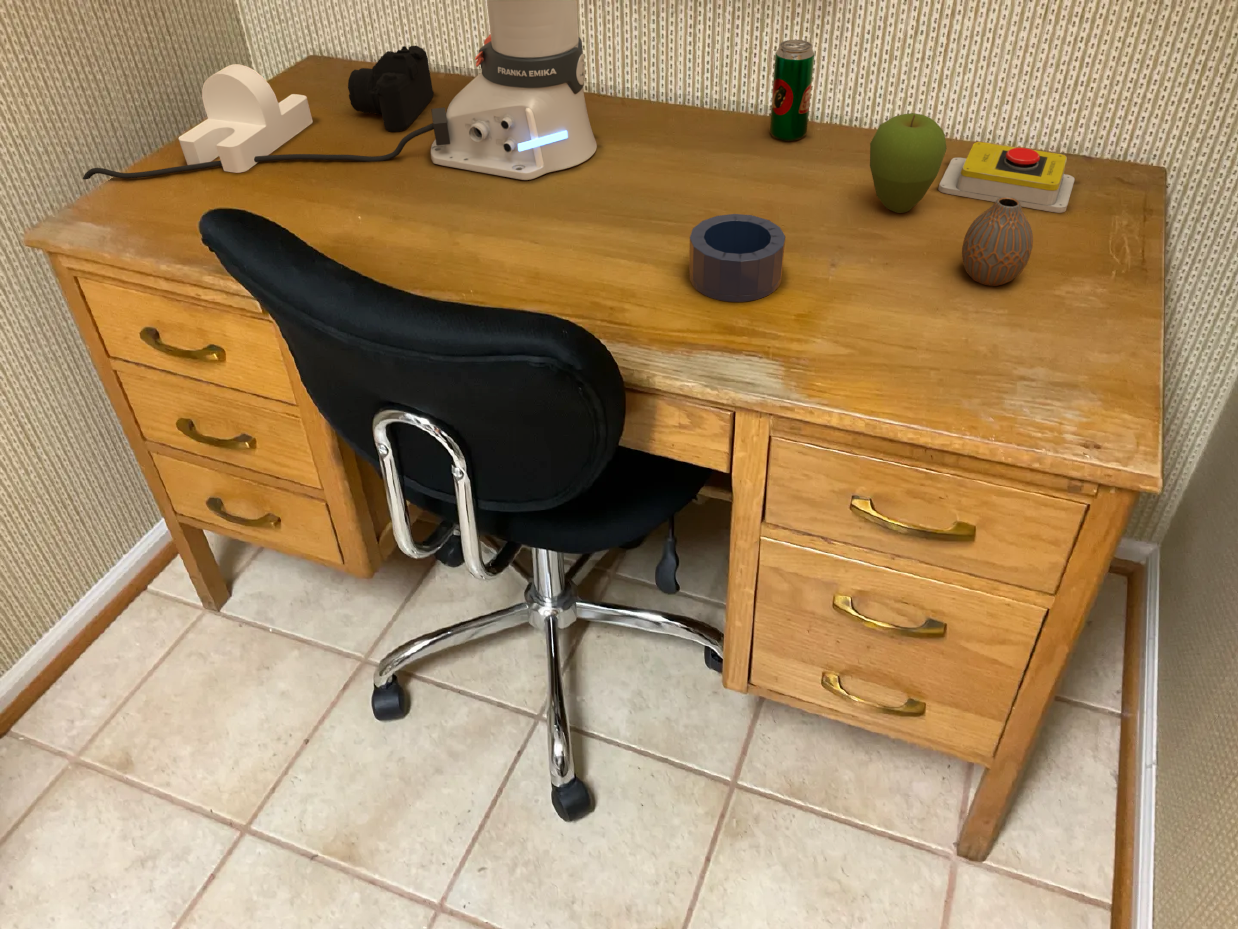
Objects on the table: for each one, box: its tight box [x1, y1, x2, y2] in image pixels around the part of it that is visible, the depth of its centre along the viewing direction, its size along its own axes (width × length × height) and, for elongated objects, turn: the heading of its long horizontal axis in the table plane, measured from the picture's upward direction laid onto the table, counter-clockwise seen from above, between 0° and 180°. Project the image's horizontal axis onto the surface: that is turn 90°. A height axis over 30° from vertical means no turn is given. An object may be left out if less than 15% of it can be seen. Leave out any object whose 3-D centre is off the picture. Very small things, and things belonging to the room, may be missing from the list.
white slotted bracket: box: [178, 63, 313, 174], centre depth 134 cm, size 10×18×10 cm, turn 161°
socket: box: [688, 213, 786, 303], centre depth 105 cm, size 10×10×5 cm
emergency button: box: [938, 141, 1076, 214], centre depth 119 cm, size 9×4×15 cm
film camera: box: [347, 45, 435, 133], centre depth 141 cm, size 15×10×9 cm, turn 169°
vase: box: [961, 197, 1034, 287], centre depth 102 cm, size 7×7×9 cm
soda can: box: [769, 39, 816, 142], centre depth 130 cm, size 5×5×12 cm
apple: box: [869, 112, 948, 214], centre depth 113 cm, size 9×8×12 cm
